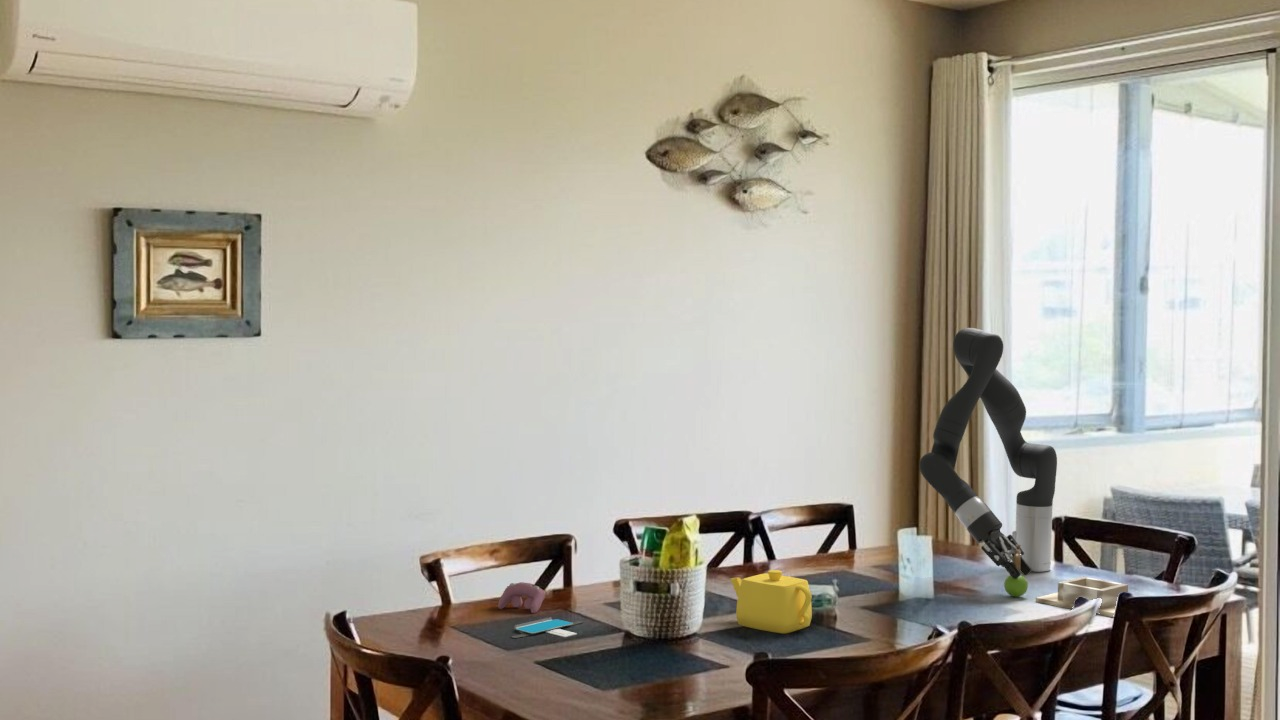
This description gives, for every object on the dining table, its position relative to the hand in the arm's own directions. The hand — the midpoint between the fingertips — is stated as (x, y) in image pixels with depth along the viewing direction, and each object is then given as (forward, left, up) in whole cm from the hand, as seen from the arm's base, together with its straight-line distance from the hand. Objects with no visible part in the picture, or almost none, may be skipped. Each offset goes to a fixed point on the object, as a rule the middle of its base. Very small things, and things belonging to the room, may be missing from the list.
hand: (1023, 574), depth 323 cm
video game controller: (-62, -103, -6) cm, 120 cm away
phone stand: (-43, -110, -6) cm, 118 cm away
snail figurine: (-2, 0, -6) cm, 6 cm away
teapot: (-19, -68, -6) cm, 71 cm away
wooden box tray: (+14, +7, -6) cm, 17 cm away
